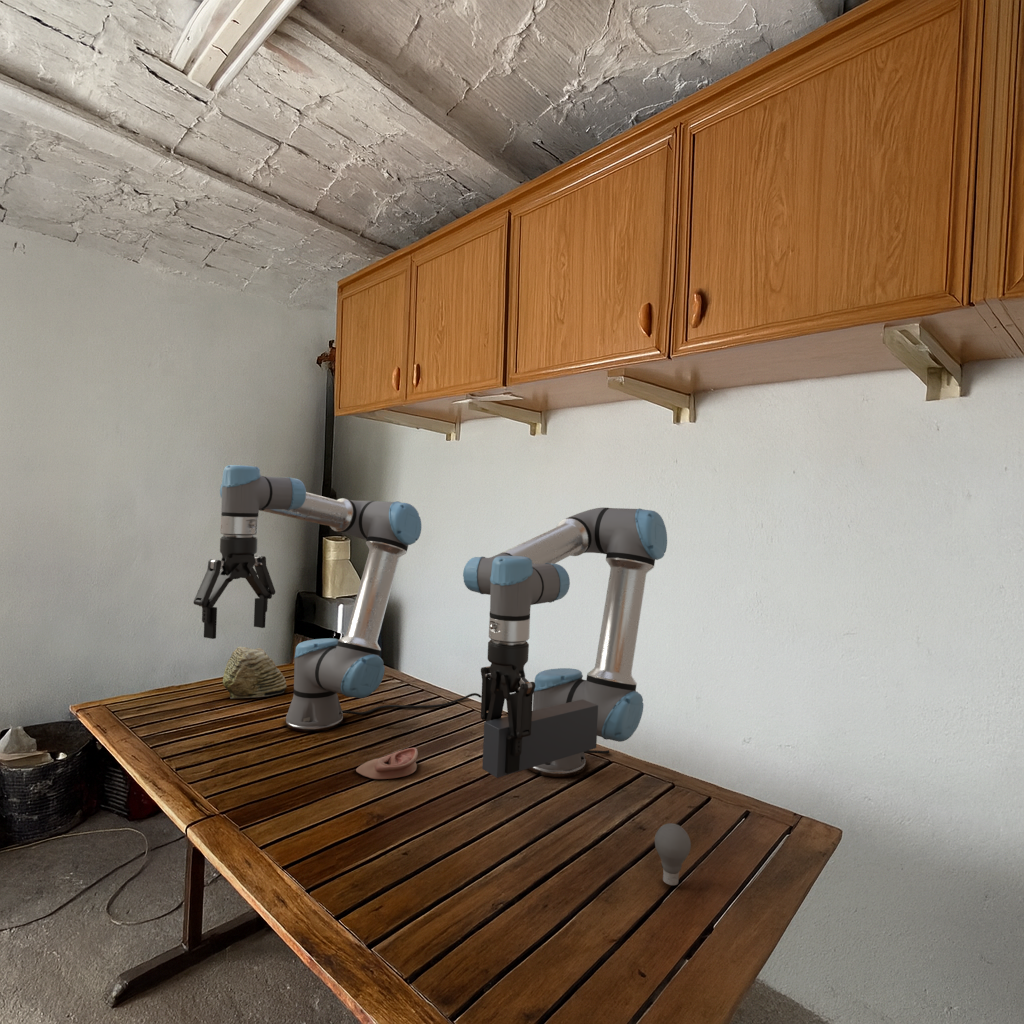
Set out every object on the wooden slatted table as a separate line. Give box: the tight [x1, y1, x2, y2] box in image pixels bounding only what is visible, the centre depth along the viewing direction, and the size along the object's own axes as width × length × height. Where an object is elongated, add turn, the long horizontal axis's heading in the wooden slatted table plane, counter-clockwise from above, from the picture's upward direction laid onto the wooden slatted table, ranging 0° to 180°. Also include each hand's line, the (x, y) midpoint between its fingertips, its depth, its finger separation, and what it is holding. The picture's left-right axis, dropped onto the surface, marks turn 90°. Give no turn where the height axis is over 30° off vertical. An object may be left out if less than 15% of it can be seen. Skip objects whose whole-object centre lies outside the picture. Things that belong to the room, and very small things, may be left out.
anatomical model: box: [355, 747, 419, 780], centre depth 148 cm, size 13×4×12 cm
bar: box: [481, 699, 598, 779], centre depth 123 cm, size 25×5×9 cm, turn 128°
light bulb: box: [654, 822, 692, 886], centre depth 108 cm, size 6×6×10 cm
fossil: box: [222, 646, 288, 699], centre depth 198 cm, size 9×18×15 cm, turn 132°
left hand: (235, 632), depth 139 cm, fingers open, 13 cm apart
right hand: (503, 765), depth 117 cm, fingers closed on bar, 5 cm apart
